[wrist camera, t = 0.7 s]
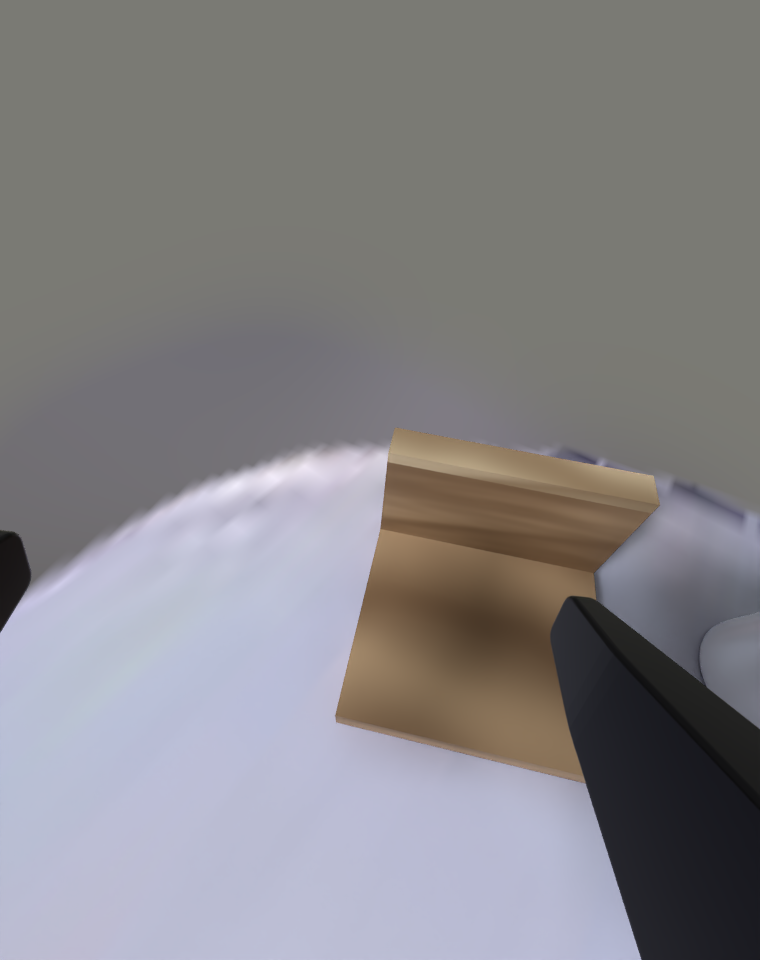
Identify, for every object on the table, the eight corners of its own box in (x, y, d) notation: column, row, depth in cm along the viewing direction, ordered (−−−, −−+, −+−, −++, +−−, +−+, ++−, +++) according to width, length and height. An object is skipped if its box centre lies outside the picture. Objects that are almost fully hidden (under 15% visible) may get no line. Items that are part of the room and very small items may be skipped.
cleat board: (596, 785, 18) (716, 767, 12) (336, 722, 19) (329, 675, 13) (579, 560, 25) (653, 475, 19) (384, 520, 26) (395, 427, 20)
